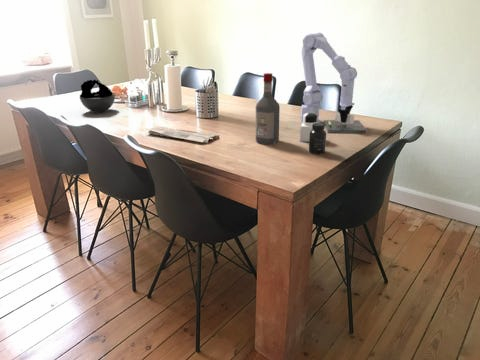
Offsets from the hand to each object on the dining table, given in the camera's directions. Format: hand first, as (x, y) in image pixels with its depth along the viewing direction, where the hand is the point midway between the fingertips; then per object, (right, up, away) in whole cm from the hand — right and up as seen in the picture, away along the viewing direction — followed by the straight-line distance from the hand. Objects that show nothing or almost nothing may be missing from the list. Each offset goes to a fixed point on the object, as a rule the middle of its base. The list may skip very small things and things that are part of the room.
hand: (344, 121), depth 195 cm
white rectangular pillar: (0, -2, +1) cm, 2 cm away
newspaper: (-80, -9, -8) cm, 81 cm away
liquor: (-40, -12, -16) cm, 45 cm away
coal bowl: (-137, +12, +42) cm, 144 cm away
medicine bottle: (-21, -11, -15) cm, 28 cm away
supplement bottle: (-20, -18, -31) cm, 41 cm away
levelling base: (0, -3, +1) cm, 3 cm away
